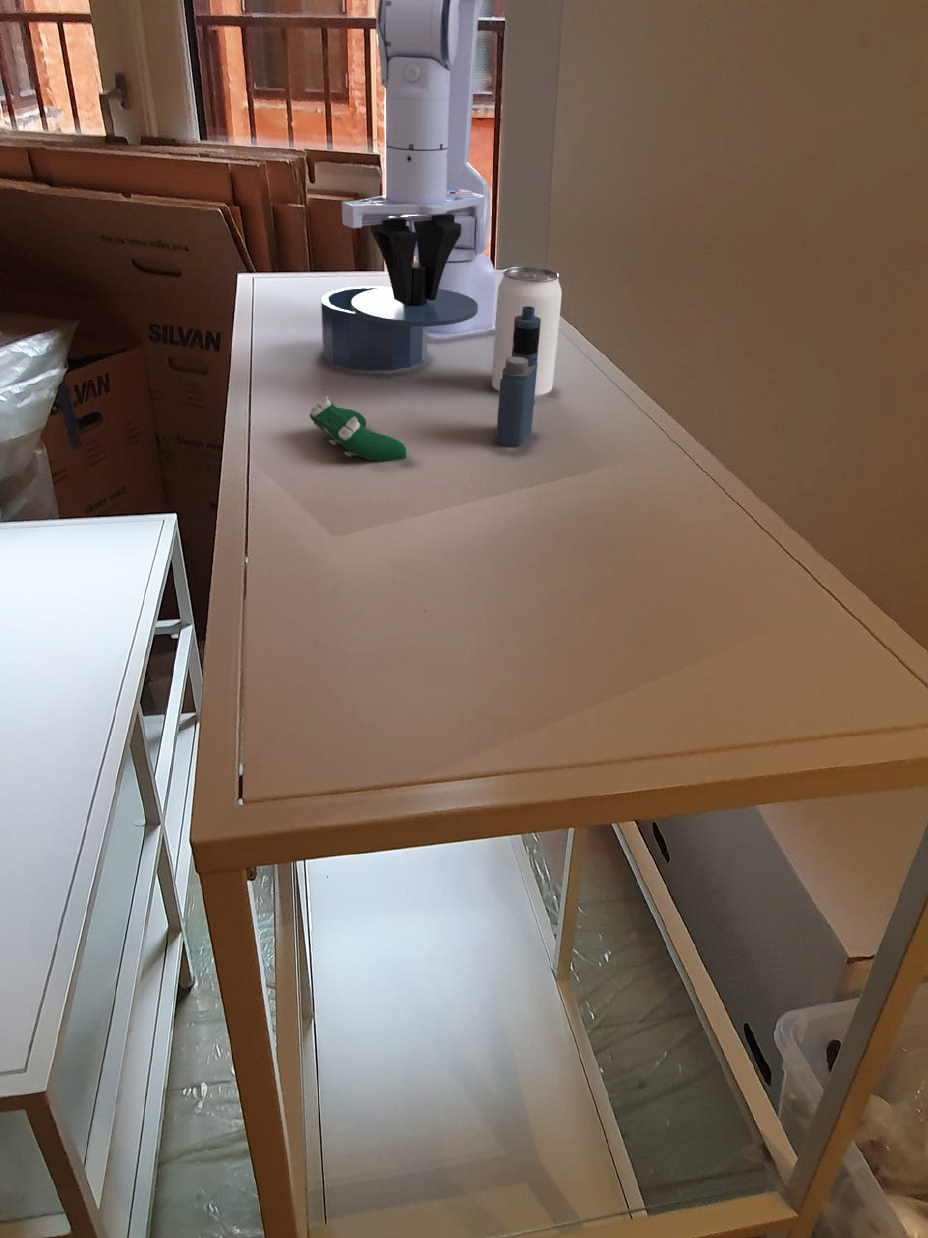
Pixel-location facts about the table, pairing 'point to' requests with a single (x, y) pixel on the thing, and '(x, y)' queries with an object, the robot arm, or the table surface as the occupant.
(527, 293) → the can
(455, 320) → the lid
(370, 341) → the tin
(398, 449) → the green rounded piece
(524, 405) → the vaping device
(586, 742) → the table surface
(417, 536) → the table surface
